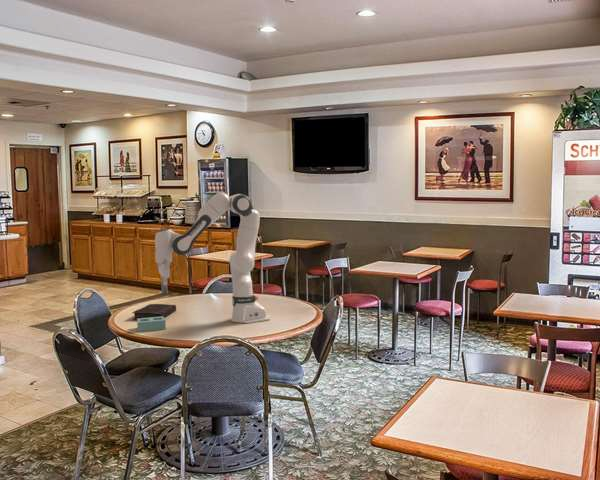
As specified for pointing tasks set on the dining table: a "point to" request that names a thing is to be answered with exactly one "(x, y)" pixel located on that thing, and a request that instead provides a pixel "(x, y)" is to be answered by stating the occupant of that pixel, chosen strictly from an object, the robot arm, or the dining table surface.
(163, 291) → the peg
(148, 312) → the diary
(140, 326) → the hole block
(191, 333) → the dining table surface
